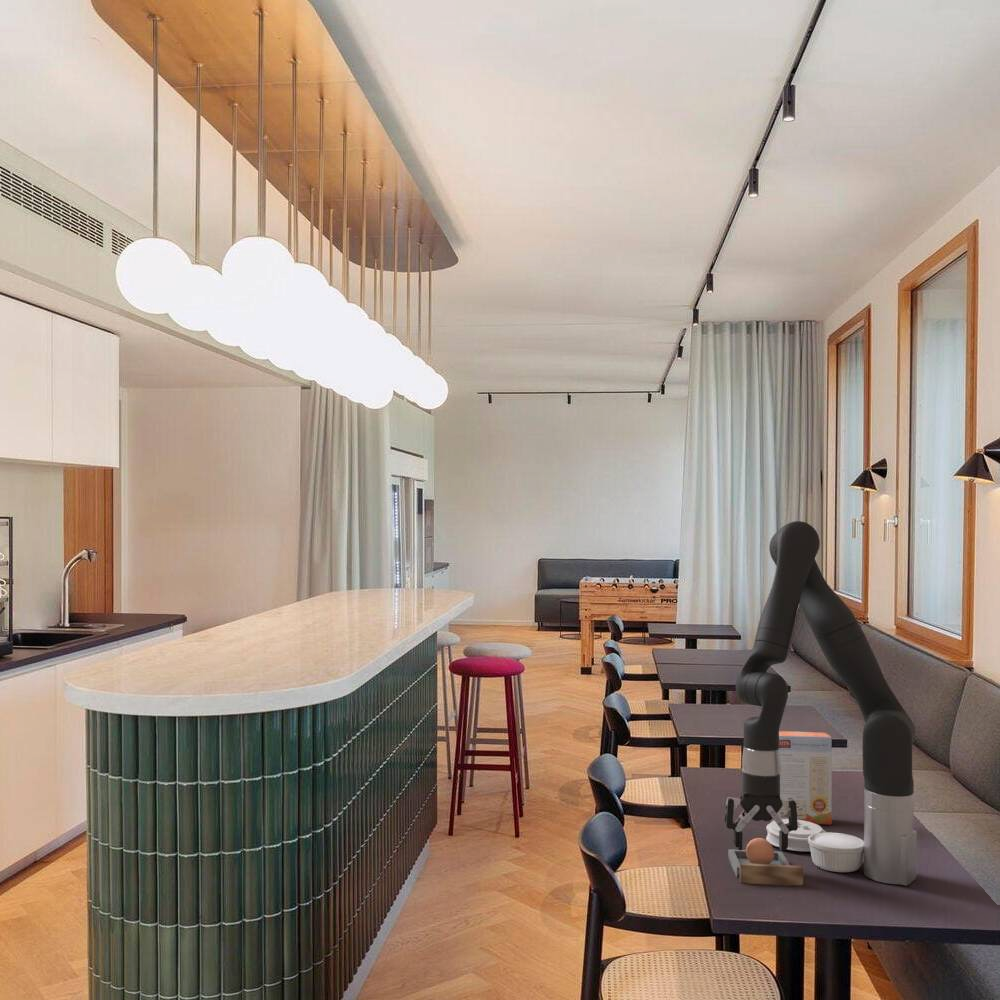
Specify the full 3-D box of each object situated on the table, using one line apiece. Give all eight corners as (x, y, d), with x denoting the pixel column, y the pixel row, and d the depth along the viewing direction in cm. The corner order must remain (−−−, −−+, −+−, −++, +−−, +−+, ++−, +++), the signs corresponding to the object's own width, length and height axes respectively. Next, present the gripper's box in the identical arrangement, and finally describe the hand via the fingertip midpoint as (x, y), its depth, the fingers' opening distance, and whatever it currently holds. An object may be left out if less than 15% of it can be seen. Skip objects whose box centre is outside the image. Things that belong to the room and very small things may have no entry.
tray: (781, 861, 201) (781, 851, 201) (793, 880, 190) (793, 869, 190) (728, 858, 202) (728, 849, 202) (736, 877, 191) (736, 867, 191)
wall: (801, 883, 188) (801, 865, 188) (803, 886, 187) (803, 867, 187) (739, 880, 189) (739, 862, 189) (740, 883, 188) (740, 865, 188)
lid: (755, 845, 212) (755, 822, 212) (783, 833, 221) (783, 811, 221) (809, 860, 203) (809, 836, 203) (836, 846, 212) (836, 824, 212)
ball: (778, 865, 196) (779, 838, 196) (766, 873, 192) (767, 845, 192) (753, 859, 200) (753, 832, 200) (740, 866, 196) (741, 838, 196)
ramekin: (804, 855, 205) (804, 830, 205) (859, 858, 203) (859, 833, 204) (812, 873, 194) (812, 846, 194) (870, 876, 192) (870, 850, 192)
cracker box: (826, 818, 232) (826, 731, 233) (832, 826, 226) (833, 736, 227) (767, 815, 234) (767, 729, 234) (771, 823, 228) (772, 734, 228)
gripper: (792, 766, 199) (791, 845, 199) (722, 764, 200) (722, 842, 200) (801, 775, 192) (800, 857, 191) (729, 773, 193) (728, 854, 192)
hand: (760, 849), depth 196 cm, fingers open, 8 cm apart
